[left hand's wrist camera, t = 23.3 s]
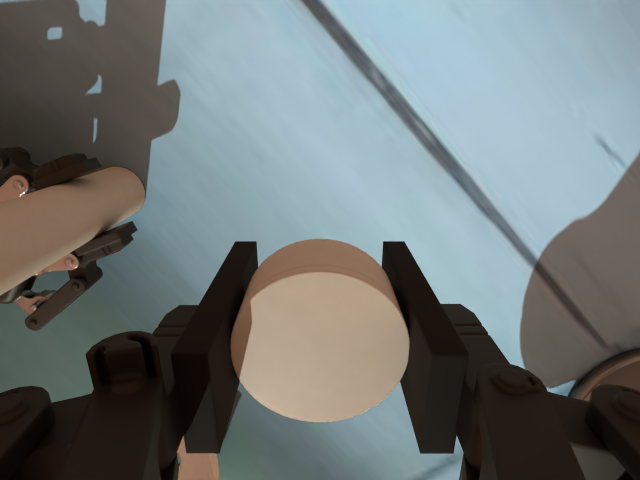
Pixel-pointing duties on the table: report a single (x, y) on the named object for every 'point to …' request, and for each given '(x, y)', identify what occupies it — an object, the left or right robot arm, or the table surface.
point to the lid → (320, 332)
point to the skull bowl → (197, 465)
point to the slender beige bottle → (62, 220)
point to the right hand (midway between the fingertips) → (110, 197)
